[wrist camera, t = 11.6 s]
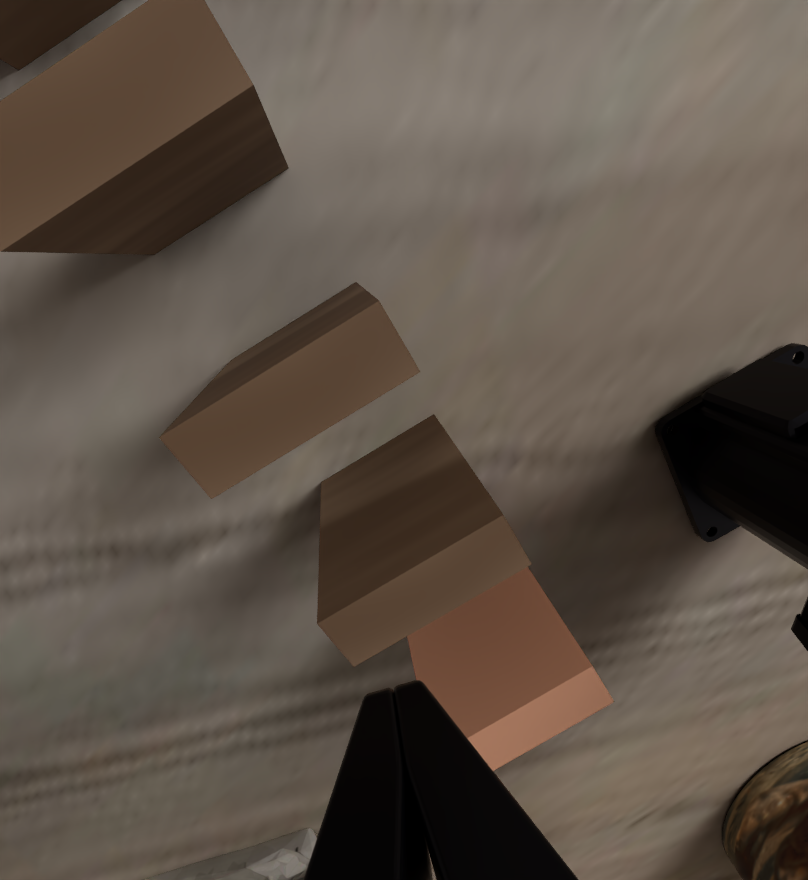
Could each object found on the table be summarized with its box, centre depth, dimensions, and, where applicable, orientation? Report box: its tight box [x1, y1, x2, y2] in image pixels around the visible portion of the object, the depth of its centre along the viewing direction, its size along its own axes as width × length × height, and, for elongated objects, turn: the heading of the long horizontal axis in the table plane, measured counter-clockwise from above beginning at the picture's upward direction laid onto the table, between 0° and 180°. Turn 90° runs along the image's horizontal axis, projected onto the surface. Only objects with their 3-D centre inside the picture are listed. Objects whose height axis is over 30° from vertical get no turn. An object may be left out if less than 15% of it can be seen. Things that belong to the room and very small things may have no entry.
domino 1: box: [0, 0, 288, 255], centre depth 12 cm, size 2×5×8 cm, turn 120°
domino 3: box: [317, 415, 532, 667], centre depth 16 cm, size 2×5×8 cm, turn 121°
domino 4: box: [407, 567, 614, 771], centre depth 18 cm, size 2×5×8 cm, turn 122°
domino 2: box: [159, 282, 420, 499], centre depth 14 cm, size 2×5×8 cm, turn 120°
